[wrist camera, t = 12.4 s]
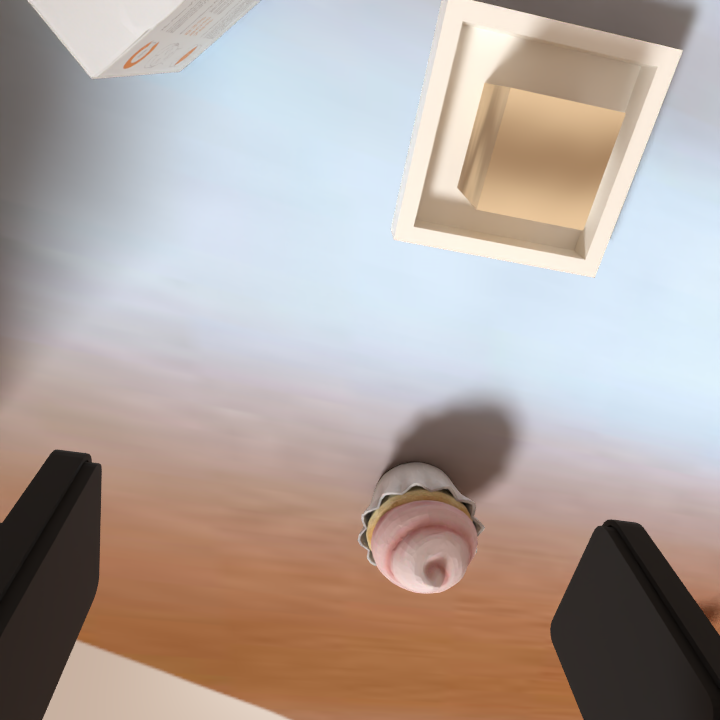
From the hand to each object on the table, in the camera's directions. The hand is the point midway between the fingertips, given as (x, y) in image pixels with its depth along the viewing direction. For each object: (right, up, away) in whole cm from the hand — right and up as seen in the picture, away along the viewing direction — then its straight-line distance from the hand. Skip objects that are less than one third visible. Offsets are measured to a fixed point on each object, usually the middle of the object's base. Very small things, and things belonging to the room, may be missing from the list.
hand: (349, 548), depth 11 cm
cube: (+10, +16, +25) cm, 31 cm away
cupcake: (+5, -7, +37) cm, 38 cm away
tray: (+10, +17, +25) cm, 32 cm away
